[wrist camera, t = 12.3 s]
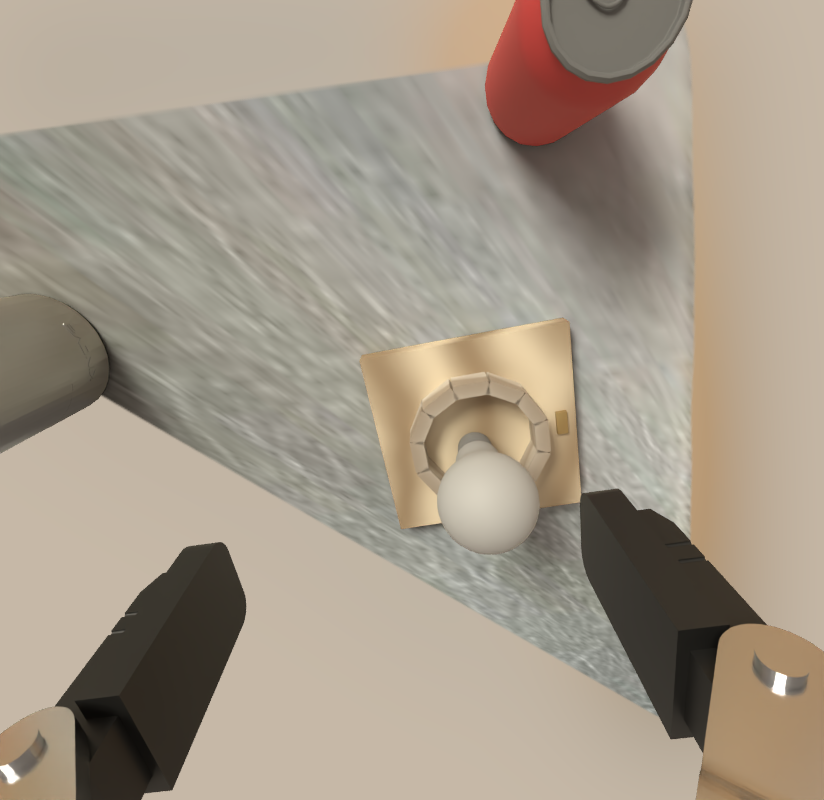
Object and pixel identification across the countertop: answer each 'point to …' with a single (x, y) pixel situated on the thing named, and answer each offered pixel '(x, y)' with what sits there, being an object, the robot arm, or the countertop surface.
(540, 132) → the beer can
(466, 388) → the lamp holder
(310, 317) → the countertop surface
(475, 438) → the lightbulb
